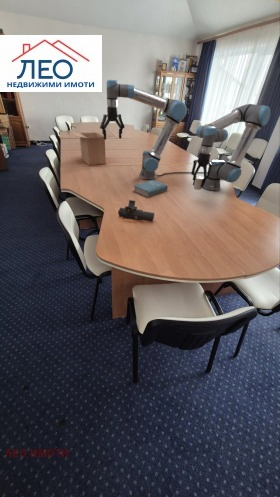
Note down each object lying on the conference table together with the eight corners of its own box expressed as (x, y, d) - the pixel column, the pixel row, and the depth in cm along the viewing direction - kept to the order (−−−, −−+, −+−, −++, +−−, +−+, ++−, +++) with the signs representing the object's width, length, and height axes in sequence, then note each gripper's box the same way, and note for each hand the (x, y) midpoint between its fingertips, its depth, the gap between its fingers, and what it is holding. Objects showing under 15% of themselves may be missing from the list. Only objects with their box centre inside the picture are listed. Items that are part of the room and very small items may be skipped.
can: (196, 186, 166) (198, 175, 162) (202, 188, 163) (205, 177, 159) (192, 188, 163) (194, 177, 158) (198, 190, 160) (201, 179, 155)
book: (152, 185, 190) (153, 179, 187) (167, 191, 181) (167, 185, 178) (133, 191, 176) (133, 185, 173) (147, 198, 167) (148, 191, 164)
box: (116, 165, 229) (116, 136, 213) (83, 168, 214) (80, 137, 198) (102, 154, 259) (101, 128, 243) (71, 156, 244) (68, 129, 228)
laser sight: (151, 225, 135) (153, 210, 129) (116, 219, 138) (116, 205, 132) (154, 218, 142) (155, 203, 137) (120, 212, 145) (120, 198, 139)
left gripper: (99, 106, 151) (100, 140, 164) (129, 107, 164) (128, 138, 176) (94, 105, 156) (96, 138, 169) (124, 106, 168) (123, 136, 181)
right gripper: (190, 150, 150) (184, 184, 164) (216, 156, 142) (207, 190, 155) (194, 149, 155) (188, 181, 169) (220, 154, 147) (211, 187, 161)
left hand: (112, 138), depth 173 cm, fingers open, 13 cm apart
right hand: (197, 185), depth 162 cm, fingers closed on can, 6 cm apart
